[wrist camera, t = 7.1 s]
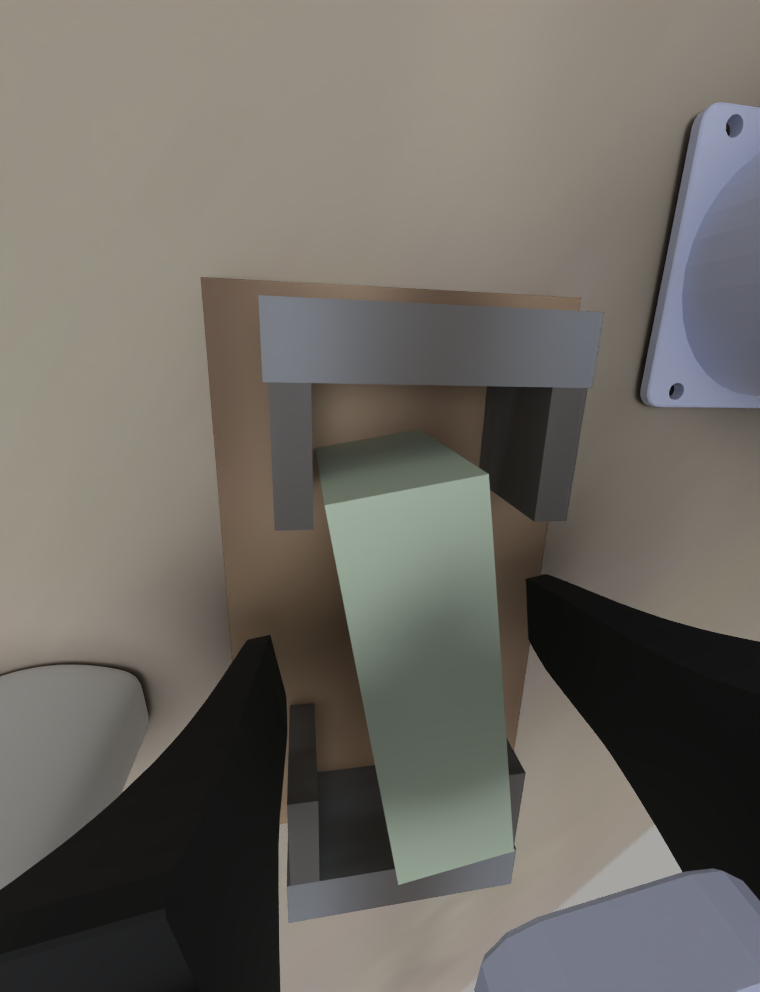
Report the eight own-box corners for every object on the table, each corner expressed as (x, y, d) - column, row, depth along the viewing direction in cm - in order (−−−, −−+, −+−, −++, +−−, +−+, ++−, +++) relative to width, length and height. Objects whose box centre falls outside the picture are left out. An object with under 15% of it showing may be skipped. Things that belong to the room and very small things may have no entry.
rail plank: (420, 429, 13) (488, 474, 8) (451, 705, 16) (513, 851, 11) (315, 447, 13) (324, 505, 8) (369, 726, 16) (398, 885, 11)
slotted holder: (561, 301, 13) (681, 278, 9) (497, 769, 19) (554, 890, 15) (208, 283, 12) (157, 244, 8) (249, 802, 17) (232, 949, 13)
